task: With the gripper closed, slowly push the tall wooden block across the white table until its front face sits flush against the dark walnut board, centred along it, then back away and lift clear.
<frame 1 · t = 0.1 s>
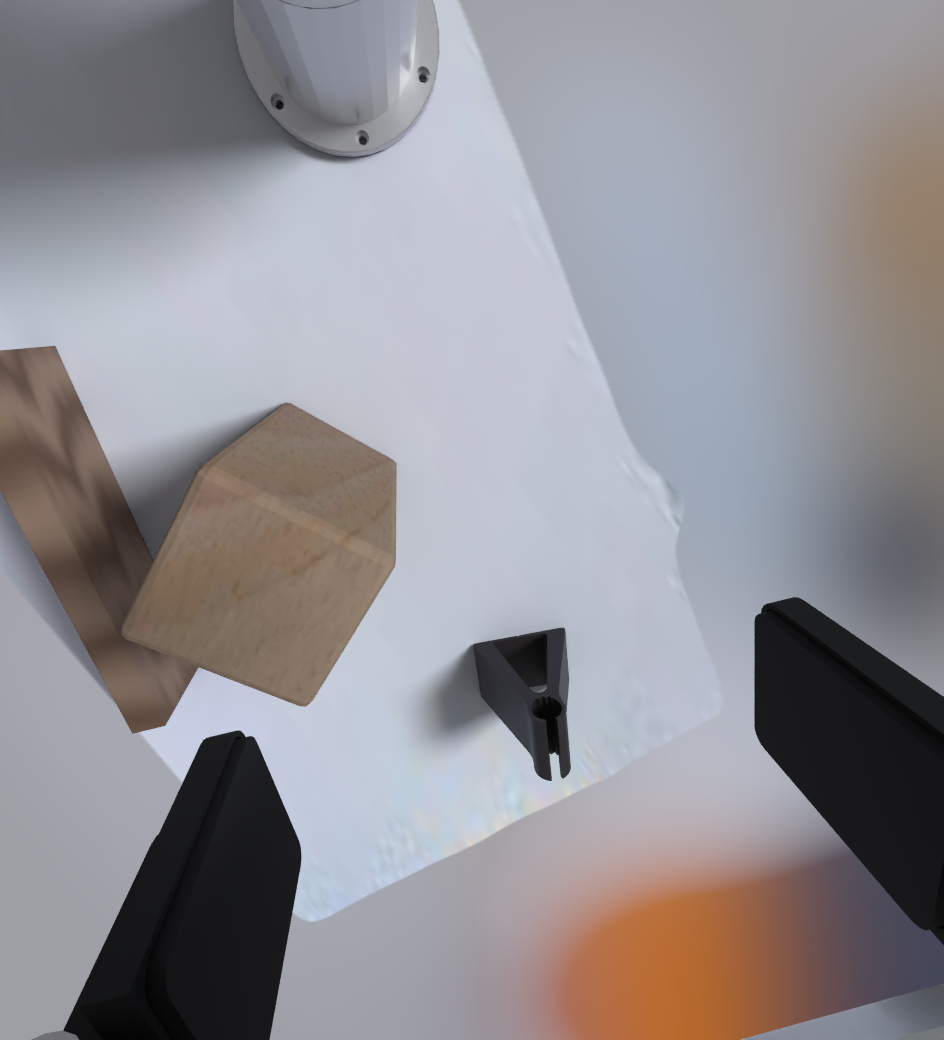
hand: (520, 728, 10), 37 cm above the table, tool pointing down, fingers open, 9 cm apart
wooden block: (316, 482, 45), on the table
walnut board: (120, 526, 44), on the table
phone stand: (521, 659, 54), on the table
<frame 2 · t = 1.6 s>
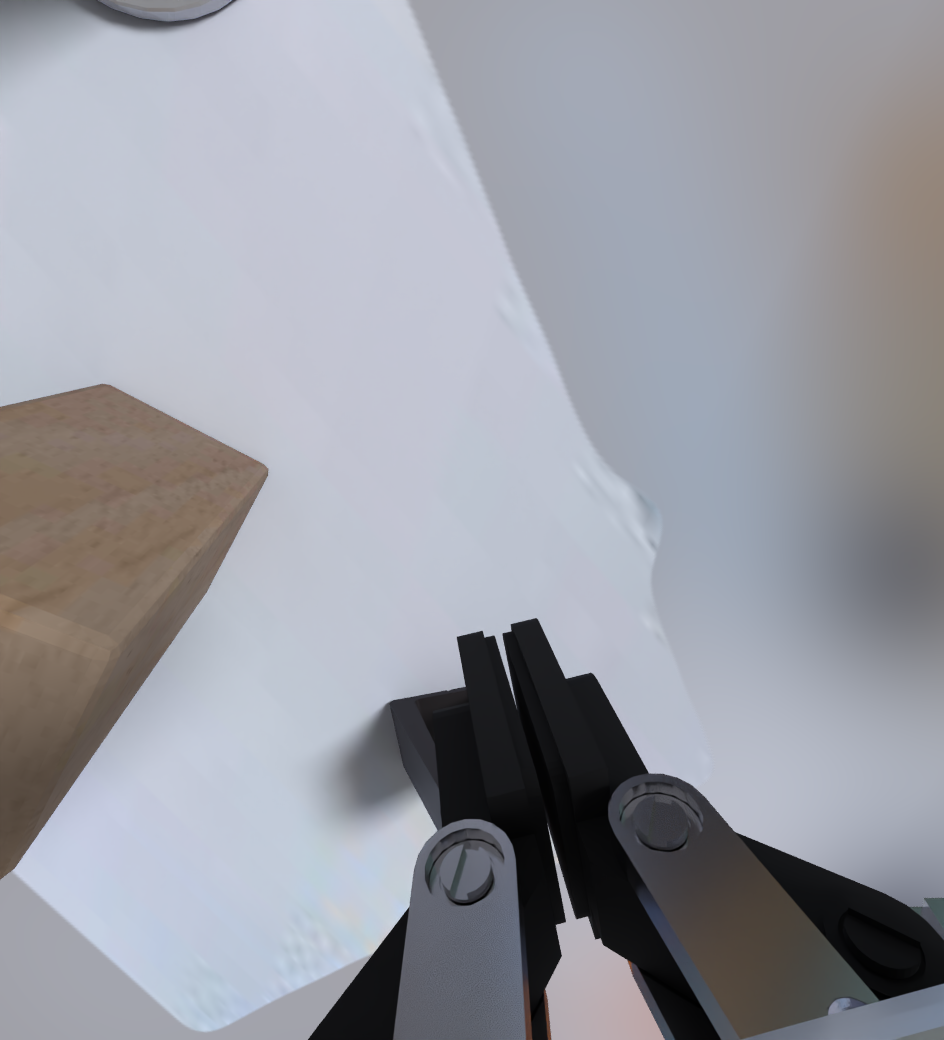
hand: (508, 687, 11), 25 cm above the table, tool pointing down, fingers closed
wooden block: (160, 494, 33), on the table
phone stand: (454, 719, 42), on the table
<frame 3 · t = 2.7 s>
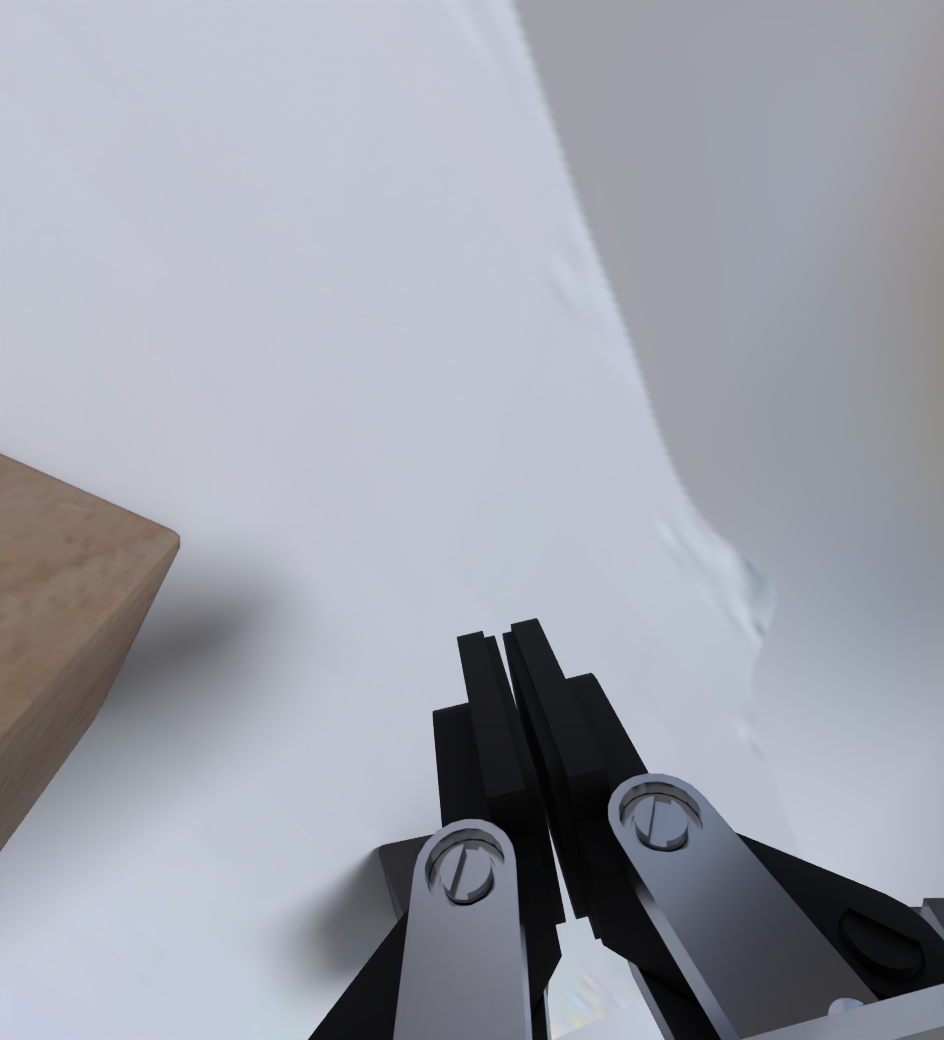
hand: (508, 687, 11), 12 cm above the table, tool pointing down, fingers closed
wooden block: (8, 577, 21), on the table
phone stand: (469, 862, 30), on the table
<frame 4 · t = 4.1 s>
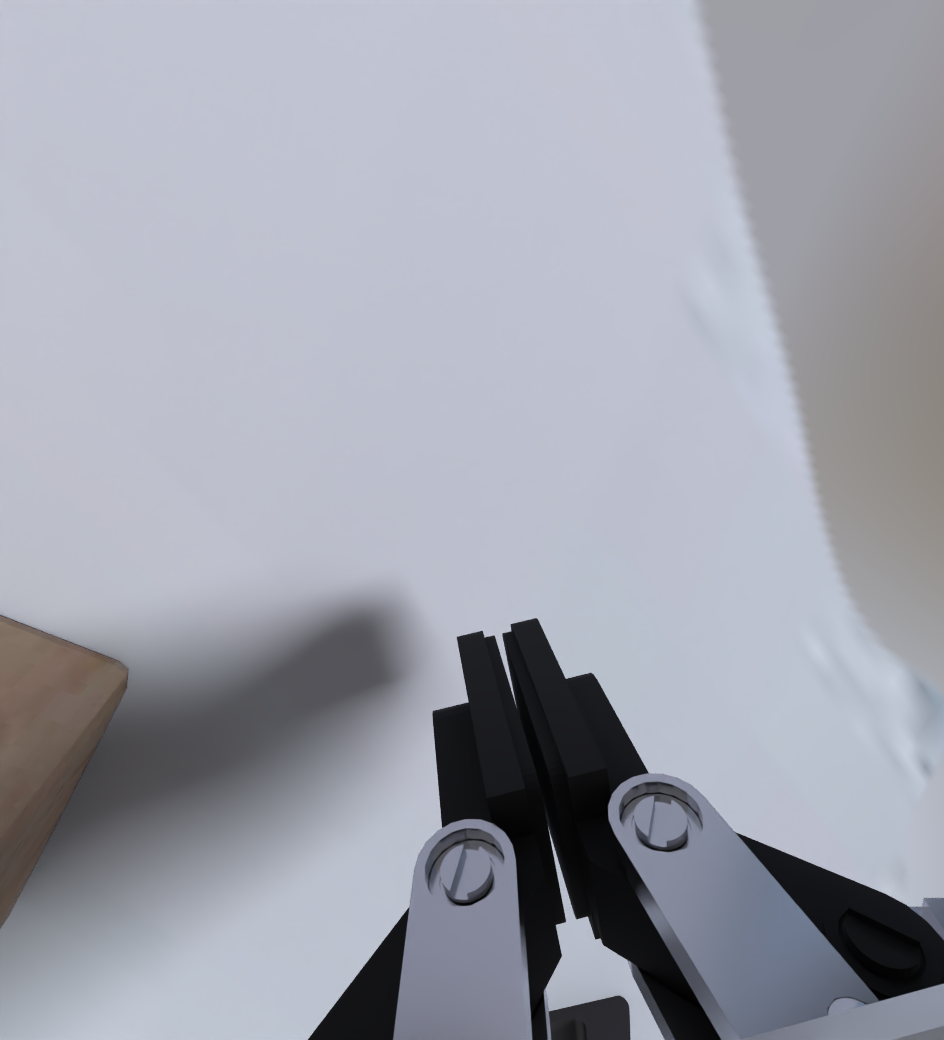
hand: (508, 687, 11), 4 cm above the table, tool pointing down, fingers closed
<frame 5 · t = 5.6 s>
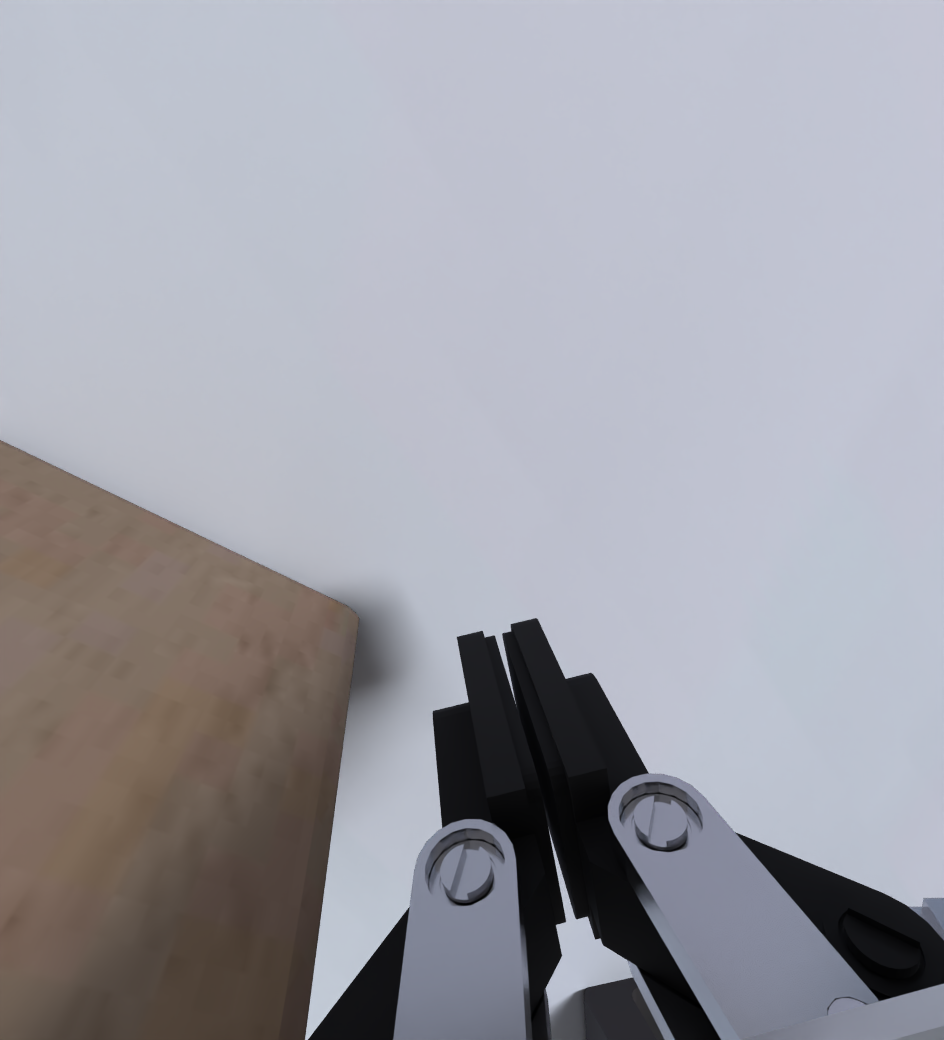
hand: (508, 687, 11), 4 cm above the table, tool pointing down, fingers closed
wooden block: (110, 668, 15), on the table, touching gripper
phone stand: (683, 1003, 23), on the table
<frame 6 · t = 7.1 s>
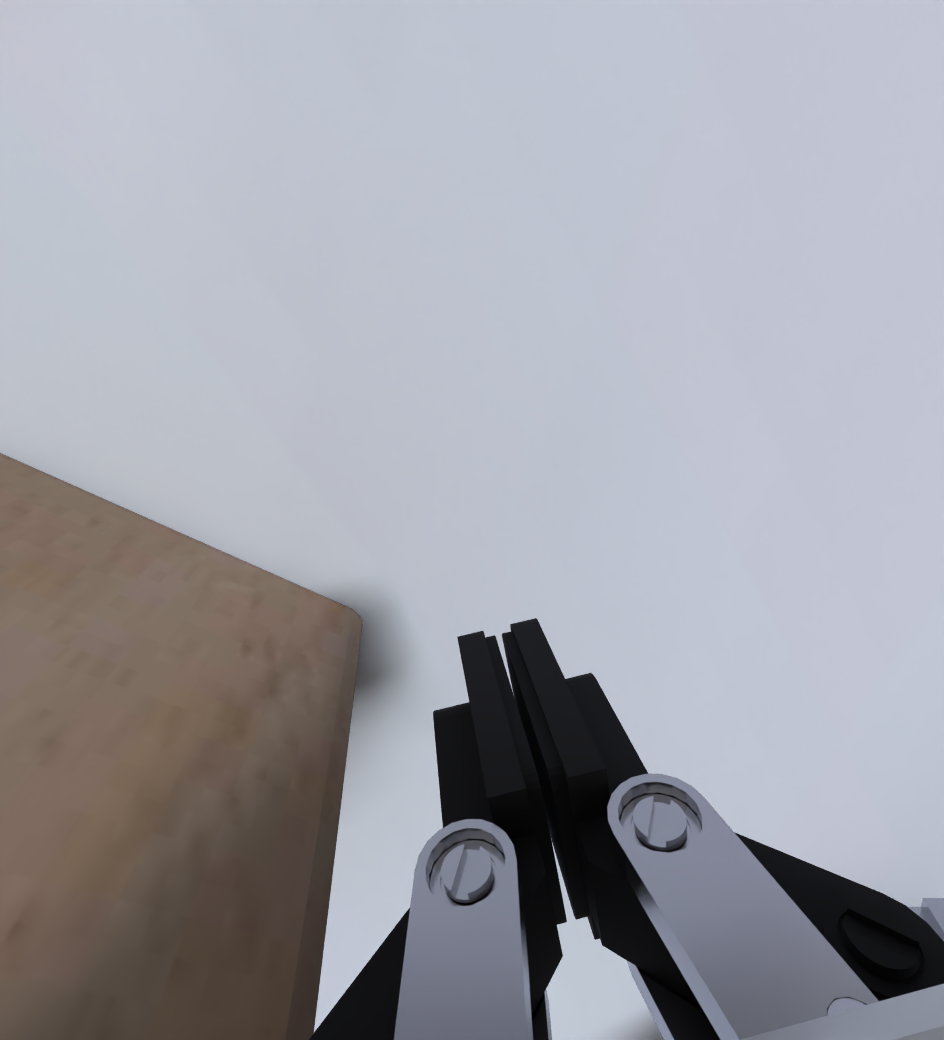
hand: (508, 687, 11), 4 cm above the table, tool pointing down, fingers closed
wooden block: (117, 676, 15), on the table, touching gripper, walnut board
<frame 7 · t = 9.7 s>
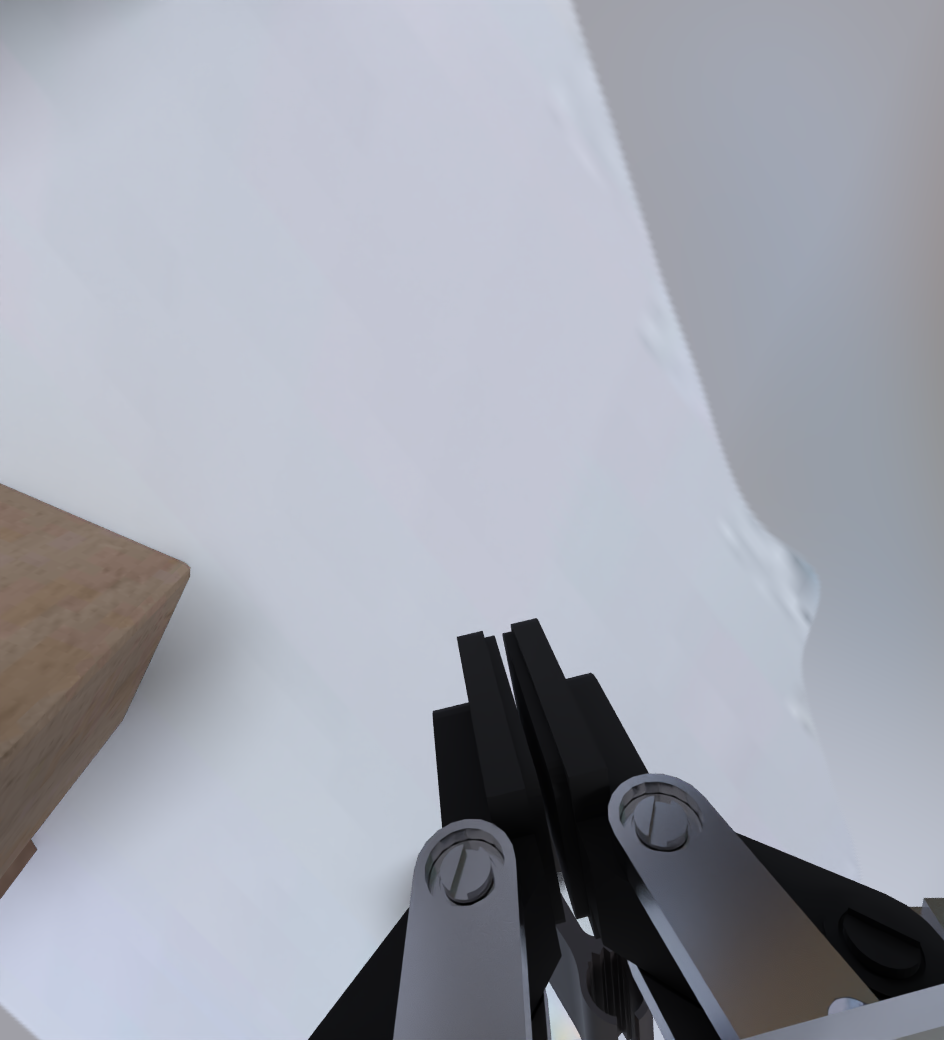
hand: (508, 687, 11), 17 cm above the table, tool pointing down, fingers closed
wooden block: (59, 603, 27), on the table
phone stand: (555, 828, 34), on the table
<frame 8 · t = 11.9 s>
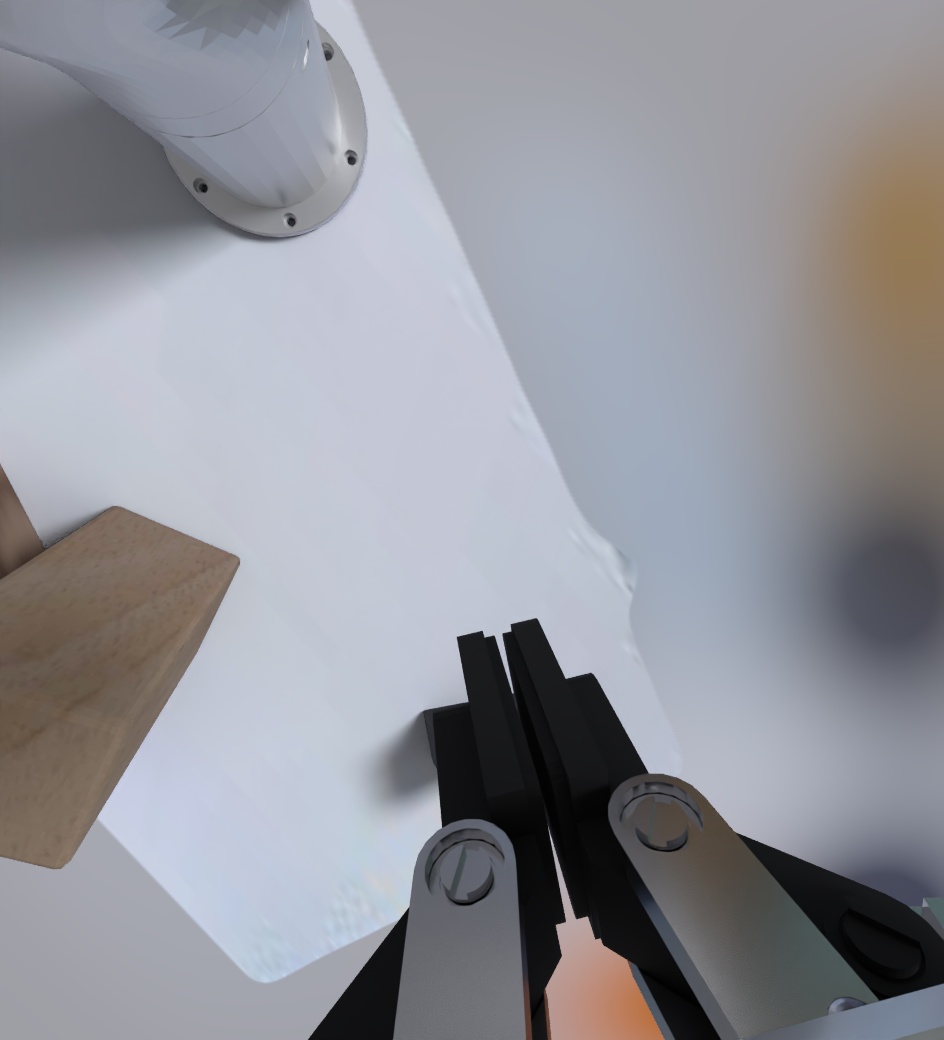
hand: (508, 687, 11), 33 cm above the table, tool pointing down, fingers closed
wooden block: (159, 580, 44), on the table
walnut board: (54, 601, 43), on the table
phone stand: (473, 724, 53), on the table
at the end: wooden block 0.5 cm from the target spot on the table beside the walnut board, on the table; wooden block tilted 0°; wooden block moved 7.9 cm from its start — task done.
